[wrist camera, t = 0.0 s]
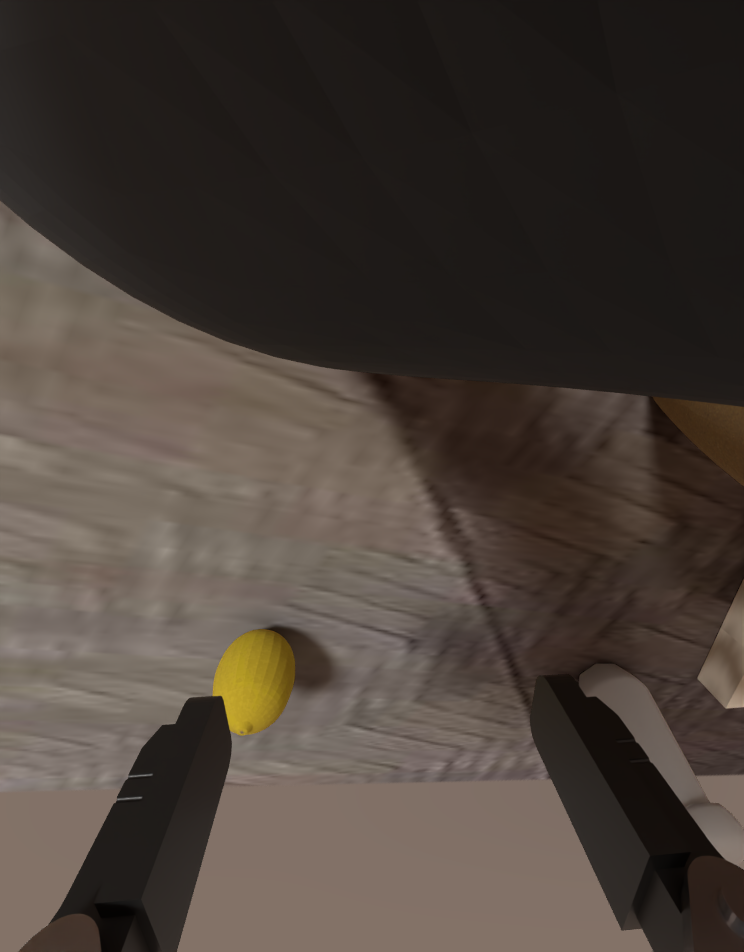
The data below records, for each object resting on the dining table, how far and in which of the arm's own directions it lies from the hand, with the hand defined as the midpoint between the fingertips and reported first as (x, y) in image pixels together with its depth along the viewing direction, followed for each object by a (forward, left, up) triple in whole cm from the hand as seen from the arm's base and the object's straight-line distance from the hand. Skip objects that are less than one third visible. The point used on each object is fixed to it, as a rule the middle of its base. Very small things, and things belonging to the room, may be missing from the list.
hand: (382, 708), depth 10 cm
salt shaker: (+23, +22, -17) cm, 36 cm away
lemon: (+15, -8, -17) cm, 24 cm away
